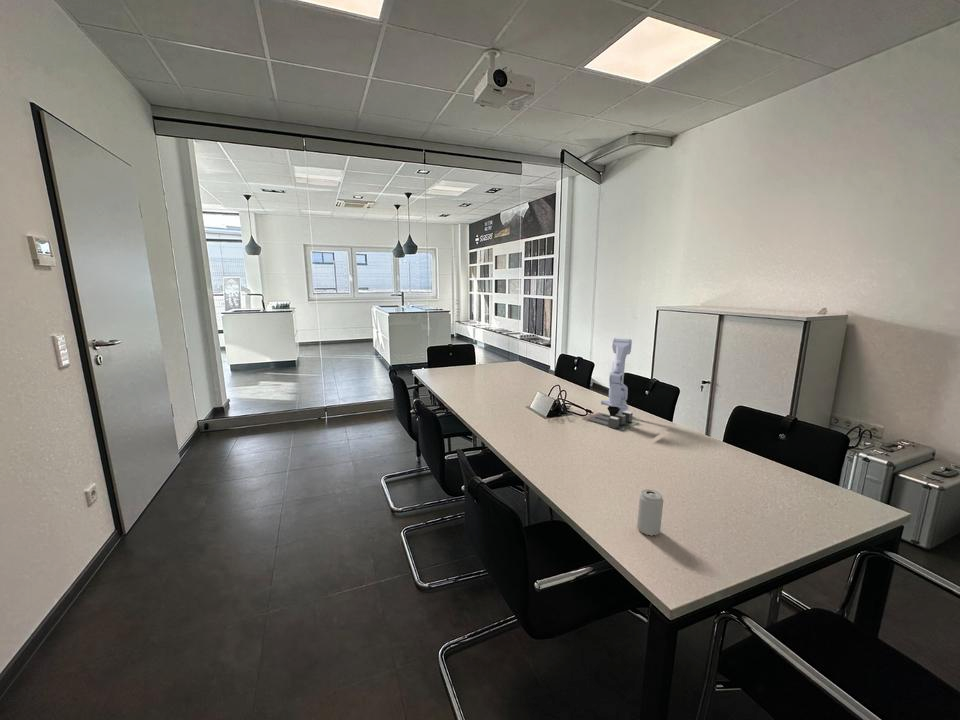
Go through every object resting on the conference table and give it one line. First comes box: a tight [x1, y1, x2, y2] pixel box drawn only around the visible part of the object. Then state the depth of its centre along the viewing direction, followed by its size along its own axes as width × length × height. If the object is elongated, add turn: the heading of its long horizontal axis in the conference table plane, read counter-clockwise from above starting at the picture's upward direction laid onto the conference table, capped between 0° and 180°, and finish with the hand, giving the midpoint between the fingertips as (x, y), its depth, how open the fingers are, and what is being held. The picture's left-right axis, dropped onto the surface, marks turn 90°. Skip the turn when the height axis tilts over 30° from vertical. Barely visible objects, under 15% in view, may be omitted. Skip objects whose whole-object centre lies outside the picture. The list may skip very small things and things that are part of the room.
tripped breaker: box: [615, 413, 626, 425], centre depth 207 cm, size 4×4×5 cm
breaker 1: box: [608, 416, 620, 429], centre depth 202 cm, size 4×4×5 cm
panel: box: [581, 412, 640, 432], centre depth 212 cm, size 18×24×2 cm
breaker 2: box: [622, 410, 634, 422], centre depth 211 cm, size 4×4×5 cm
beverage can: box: [636, 488, 664, 537], centre depth 117 cm, size 6×6×12 cm
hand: (613, 420), depth 210 cm, fingers closed
